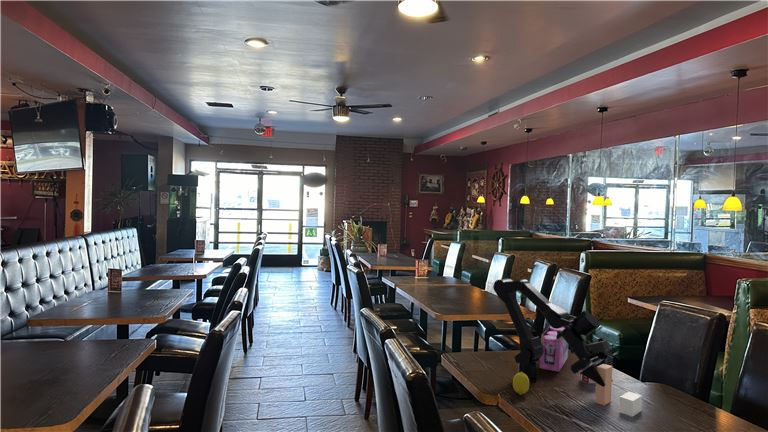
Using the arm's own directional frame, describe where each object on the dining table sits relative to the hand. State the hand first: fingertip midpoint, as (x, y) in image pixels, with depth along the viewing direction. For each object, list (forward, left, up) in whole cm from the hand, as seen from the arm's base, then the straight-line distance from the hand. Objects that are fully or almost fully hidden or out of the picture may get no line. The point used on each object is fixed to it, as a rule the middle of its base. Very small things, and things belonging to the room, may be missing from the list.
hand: (608, 384), depth 156 cm
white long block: (0, 0, -7) cm, 7 cm away
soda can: (+1, +20, -7) cm, 21 cm away
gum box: (-7, +41, -7) cm, 43 cm away
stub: (-1, +1, -6) cm, 7 cm away
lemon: (-27, +3, -7) cm, 29 cm away
